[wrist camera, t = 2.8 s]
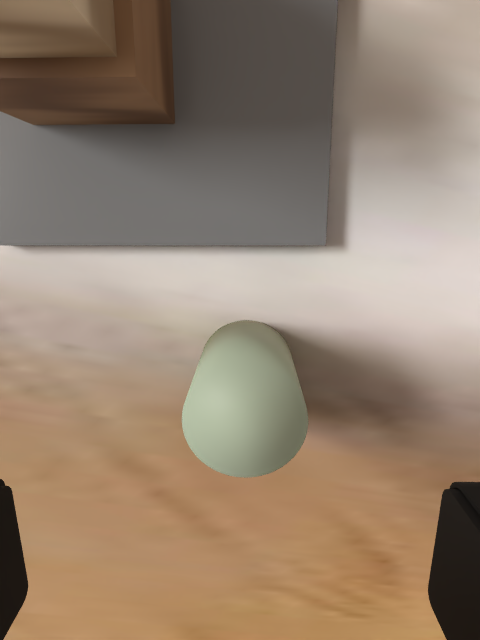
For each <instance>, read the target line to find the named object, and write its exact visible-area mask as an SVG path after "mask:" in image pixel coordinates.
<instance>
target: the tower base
mask: <svg viewBox="0 0 480 640" xmlns="http://www.w3.org/2000/svg"><path fill="white" fill-rule="evenodd" d="M113 6H114V21H115V36H116V52H117V57H53V58H0V111H1V112H3V113H6V114H8V115H11V116H13V117H15V118H18V119H20V120H23V121H25V122H27V123H30V124H32V125H90V124H175V109H174V81H173V54H172V26H171V0H113Z"/></svg>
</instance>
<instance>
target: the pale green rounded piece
mask: <svg viewBox="0 0 480 640" xmlns="http://www.w3.org/2000/svg"><path fill="white" fill-rule="evenodd" d="M182 427H183V432H184V436H185V438H186V441H187V443H188V445H189V447H190V448H191V450H192V451H193V452H194V454H195V455H196V456H197V457H198V458H199V459H200V460H201V461H202V462H203V463H205V464H206V465H207V466H209V467H210V468H212V469H214V470H216V471H218V472H220V473H223V474H226V475H230V476H235V477H256V476H262V475H265V474H269V473H271V472H273V471H276V470H277V469H279V468H281V467H283V466H284V465H285V464H287V463H288V462H289V461H290V460H291V459H292V458H293V457H294V456H295V455H296V454H297V452H298V451H299V449H300V448H301V446H302V444H303V442H304V440H305V437H306V433H307V429H308V412H307V407H306V404H305V400H304V397H303V393H302V390H301V387H300V383H299V380H298V376H297V373H296V369H295V366H294V362H293V359H292V356H291V352H290V349H289V347H288V345H287V343H286V341H285V340H284V338H283V337H282V336H281V335H280V334H279V333H278V332H277V331H276V330H274V329H273V328H271V327H270V326H268V325H266V324H263V323H260V322H256V321H249V320H244V321H236V322H233V323H229V324H227V325H225V326H223V327H221V328H220V329H218V330H217V331H216V332H215V333H214V334H213V335H212V336H211V337H210V338H209V340H208V341H207V343H206V345H205V347H204V349H203V352H202V355H201V358H200V361H199V364H198V366H197V369H196V372H195V375H194V378H193V380H192V383H191V386H190V389H189V392H188V395H187V397H186V400H185V403H184V406H183V412H182Z"/></svg>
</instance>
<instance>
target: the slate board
mask: <svg viewBox="0 0 480 640" xmlns="http://www.w3.org/2000/svg"><path fill="white" fill-rule="evenodd" d="M337 7H338V0H171V26H172V54H173V81H174V109H175V124H90V125H32V124H30V123H27V122H25V121H23V120H20V119H18V118H15V117H13V116H11V115H8V114H6V113H3V112H1V111H0V245H170V246H326V229H327V209H328V189H329V169H330V149H331V128H332V108H333V88H334V68H335V48H336V27H337Z"/></svg>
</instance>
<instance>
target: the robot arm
mask: <svg viewBox="0 0 480 640" xmlns="http://www.w3.org/2000/svg"><path fill="white" fill-rule="evenodd" d="M27 591H28V580H27V574H26V568H25V563H24V557H23V551H22V545H21V540H20V534H19V528H18V523H17V517H16V511H15V506H14V500H13V494H12V490H11V488H10V487H9V486H5V483H4V481H3V480H2V479H0V640H3V639H4V637H5V635H6V634H7V632H8V630H9V628H10V626H11V625H12V623H13V621H14V619H15V617H16V616H17V614H18V612H19V610H20V609H21V607H22V605H23V603H24V601H25V598H26V595H27ZM428 595H429V600H430V604H431V606H432V609H433V611H434V613H435V615H436V618H437V620H438V622H439V624H440V626H441V628H442V631H443V633H444V635H445V637H446V639H447V640H480V482H454V483H452V484H451V486H450V489H446V490H444V491H443V494H442V500H441V506H440V513H439V519H438V526H437V533H436V539H435V546H434V552H433V559H432V565H431V572H430V578H429V585H428Z"/></svg>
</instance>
